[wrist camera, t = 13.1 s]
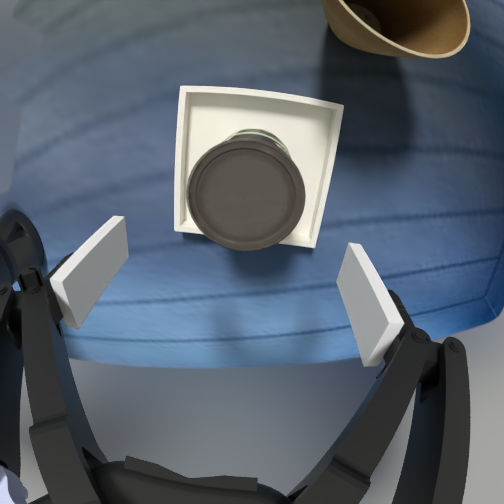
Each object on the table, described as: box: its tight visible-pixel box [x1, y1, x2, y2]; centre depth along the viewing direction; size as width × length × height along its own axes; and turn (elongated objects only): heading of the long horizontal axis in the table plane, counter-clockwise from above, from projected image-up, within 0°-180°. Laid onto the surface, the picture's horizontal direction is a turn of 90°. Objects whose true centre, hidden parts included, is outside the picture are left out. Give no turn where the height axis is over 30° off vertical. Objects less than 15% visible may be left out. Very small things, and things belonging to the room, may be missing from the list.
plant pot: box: [322, 0, 470, 58], centre depth 18 cm, size 15×15×16 cm
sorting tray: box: [174, 86, 344, 248], centre depth 35 cm, size 20×20×3 cm
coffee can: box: [186, 128, 306, 251], centre depth 29 cm, size 10×10×14 cm
